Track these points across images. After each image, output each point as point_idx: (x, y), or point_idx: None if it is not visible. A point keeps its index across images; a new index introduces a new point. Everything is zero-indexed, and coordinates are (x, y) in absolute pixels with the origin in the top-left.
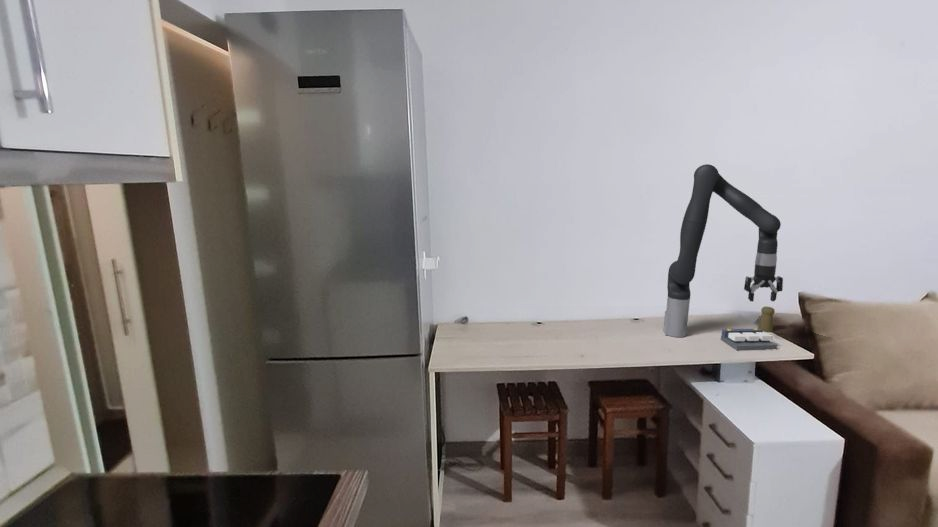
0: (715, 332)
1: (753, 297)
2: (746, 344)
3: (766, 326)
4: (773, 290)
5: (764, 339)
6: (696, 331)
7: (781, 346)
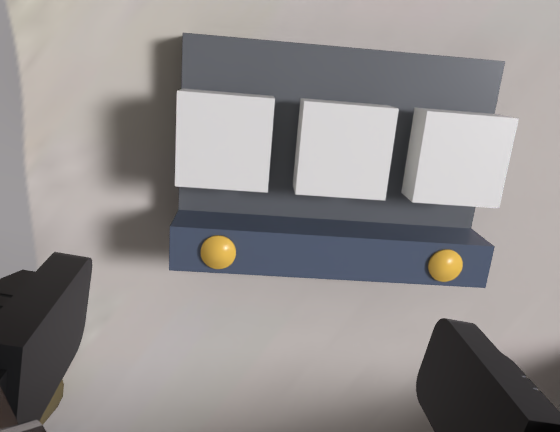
0: (386, 376)
1: (482, 357)
2: (415, 79)
3: None
4: (4, 406)
5: (253, 95)
6: None
7: (103, 89)
